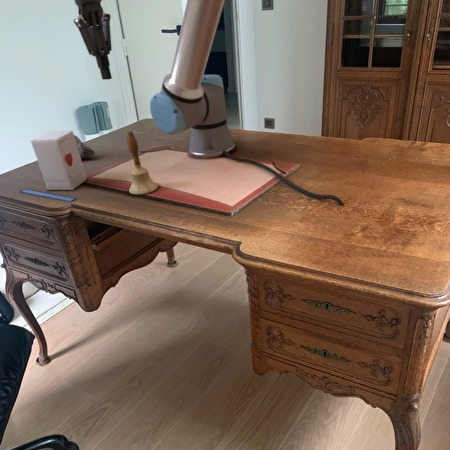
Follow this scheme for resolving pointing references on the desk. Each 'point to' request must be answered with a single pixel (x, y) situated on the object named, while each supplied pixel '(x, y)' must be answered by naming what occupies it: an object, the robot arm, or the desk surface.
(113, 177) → the desk surface
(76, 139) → the mineral rock
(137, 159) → the hand bell
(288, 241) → the desk surface
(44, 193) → the tape line
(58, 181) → the rectangular carton
